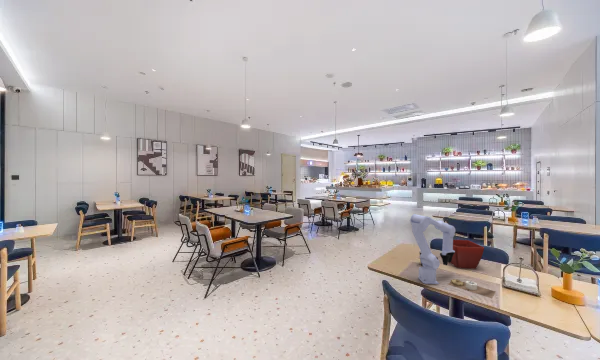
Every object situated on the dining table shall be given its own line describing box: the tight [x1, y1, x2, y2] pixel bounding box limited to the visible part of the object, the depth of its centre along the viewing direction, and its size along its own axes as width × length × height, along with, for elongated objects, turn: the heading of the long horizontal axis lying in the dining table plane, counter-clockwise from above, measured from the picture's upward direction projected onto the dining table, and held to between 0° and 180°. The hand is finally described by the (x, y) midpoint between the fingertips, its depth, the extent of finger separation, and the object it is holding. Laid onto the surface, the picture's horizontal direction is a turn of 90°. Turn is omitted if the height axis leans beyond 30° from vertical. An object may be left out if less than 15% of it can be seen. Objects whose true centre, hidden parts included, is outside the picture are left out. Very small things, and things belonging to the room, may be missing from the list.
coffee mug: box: [418, 250, 439, 267], centre depth 173 cm, size 12×9×10 cm
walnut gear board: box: [447, 278, 497, 299], centre depth 138 cm, size 21×11×4 cm, turn 42°
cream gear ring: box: [465, 280, 478, 290], centre depth 138 cm, size 5×5×3 cm
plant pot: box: [450, 239, 485, 270], centre depth 175 cm, size 19×19×17 cm
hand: (447, 263), depth 154 cm, fingers open, 7 cm apart
